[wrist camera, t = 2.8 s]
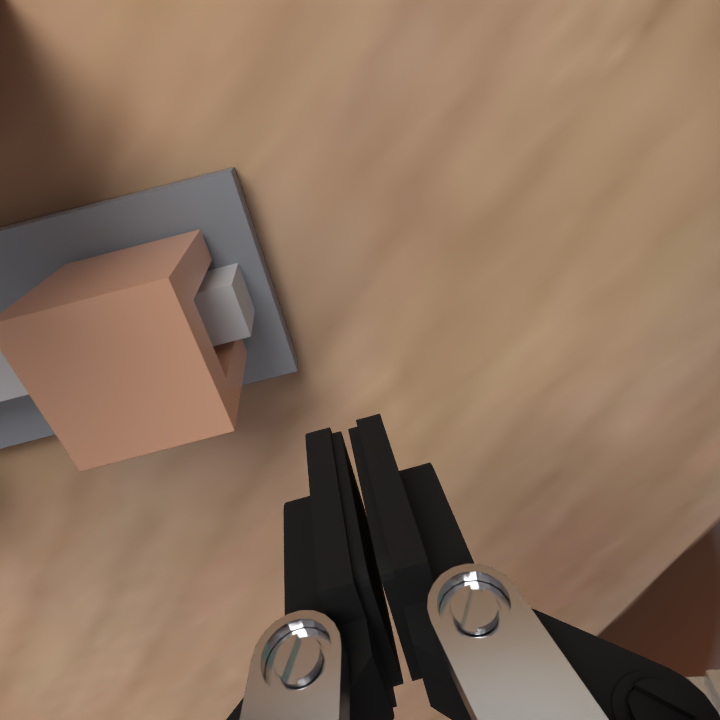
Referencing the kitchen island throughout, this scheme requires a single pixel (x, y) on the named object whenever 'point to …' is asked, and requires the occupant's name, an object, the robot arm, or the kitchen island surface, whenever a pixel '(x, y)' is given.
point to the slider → (125, 353)
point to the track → (139, 226)
